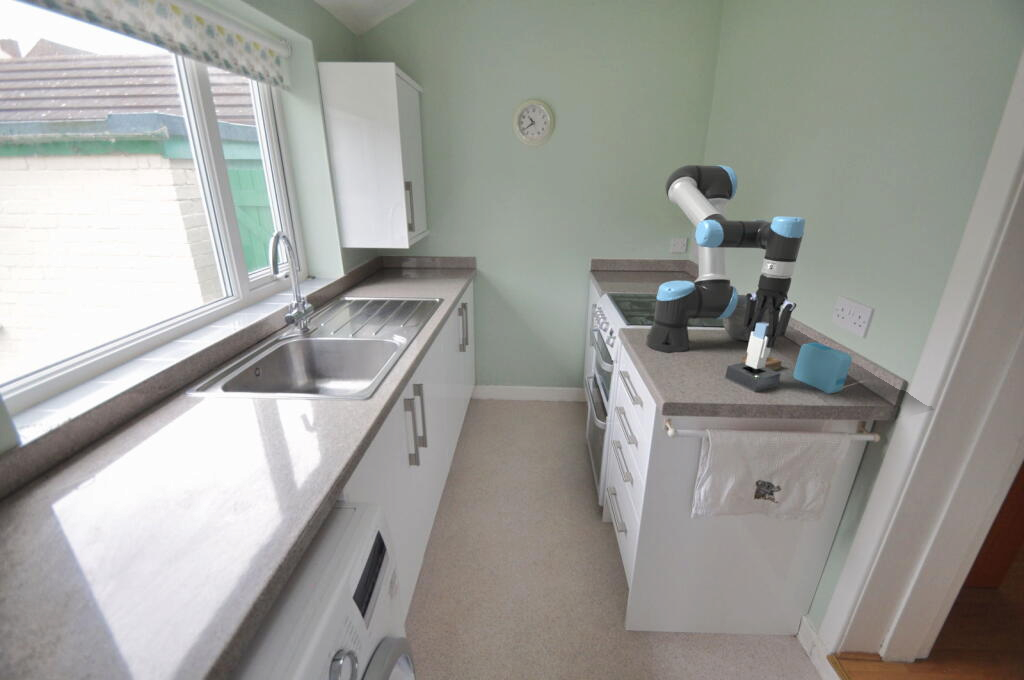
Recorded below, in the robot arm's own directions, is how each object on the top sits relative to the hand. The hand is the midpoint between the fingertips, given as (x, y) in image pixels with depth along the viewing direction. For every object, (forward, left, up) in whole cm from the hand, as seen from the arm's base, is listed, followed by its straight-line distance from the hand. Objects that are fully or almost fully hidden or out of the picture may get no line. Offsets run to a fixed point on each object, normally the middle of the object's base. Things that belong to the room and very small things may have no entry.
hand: (757, 354), depth 126 cm
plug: (0, 0, -4) cm, 4 cm away
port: (0, 0, -9) cm, 9 cm away
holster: (-7, +14, -9) cm, 18 cm away
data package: (+9, +17, -10) cm, 21 cm away
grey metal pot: (-29, +33, -10) cm, 45 cm away
